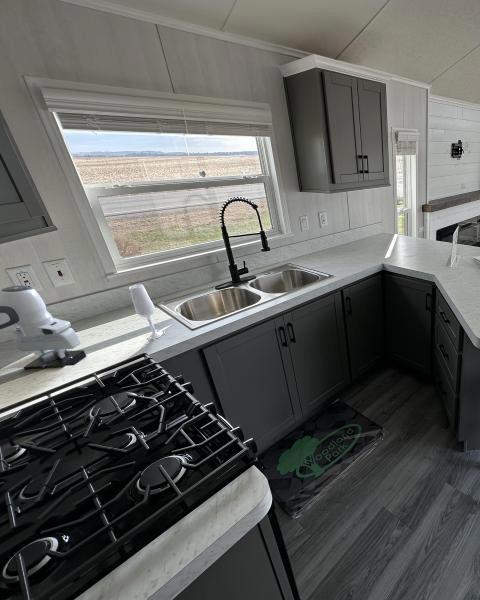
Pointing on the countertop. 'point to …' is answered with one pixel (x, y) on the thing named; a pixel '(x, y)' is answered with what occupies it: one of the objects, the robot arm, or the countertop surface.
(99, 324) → the countertop surface
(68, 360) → the tap plate
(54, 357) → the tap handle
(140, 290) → the champagne flute
